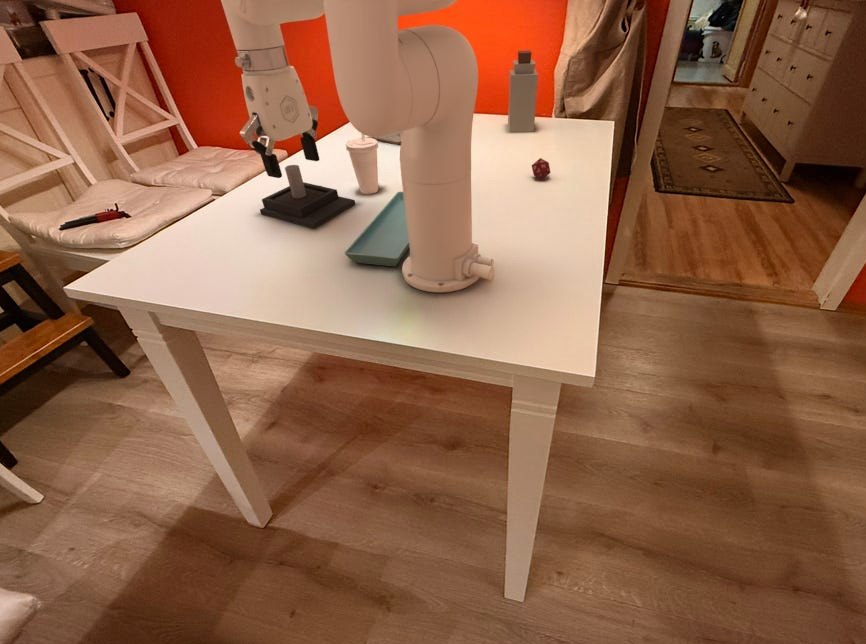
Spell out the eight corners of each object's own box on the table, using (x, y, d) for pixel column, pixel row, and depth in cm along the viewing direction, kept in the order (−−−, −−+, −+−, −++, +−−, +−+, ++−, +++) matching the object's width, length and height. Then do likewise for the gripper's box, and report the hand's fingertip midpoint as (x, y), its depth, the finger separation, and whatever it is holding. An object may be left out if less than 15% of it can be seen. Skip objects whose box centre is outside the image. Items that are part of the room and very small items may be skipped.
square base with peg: (326, 199, 92) (318, 164, 88) (302, 213, 88) (291, 176, 83) (301, 193, 95) (291, 158, 90) (275, 206, 91) (264, 170, 86)
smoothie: (378, 197, 95) (367, 124, 86) (349, 195, 96) (335, 123, 87) (388, 185, 100) (378, 114, 90) (360, 184, 101) (348, 113, 91)
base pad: (355, 204, 93) (353, 191, 91) (314, 229, 85) (310, 214, 83) (304, 192, 98) (301, 179, 96) (261, 214, 90) (256, 200, 88)
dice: (535, 183, 99) (536, 163, 96) (528, 175, 102) (530, 156, 99) (551, 181, 99) (553, 162, 97) (545, 173, 103) (546, 155, 100)
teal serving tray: (399, 200, 93) (397, 188, 92) (442, 204, 92) (441, 191, 90) (345, 266, 75) (342, 252, 73) (399, 272, 73) (397, 258, 71)
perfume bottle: (533, 131, 126) (539, 53, 114) (509, 132, 126) (512, 54, 114) (531, 124, 131) (536, 49, 119) (507, 125, 131) (510, 49, 119)
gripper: (237, 71, 68) (274, 186, 79) (318, 52, 79) (340, 156, 90) (204, 69, 71) (244, 181, 82) (287, 51, 82) (312, 152, 93)
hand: (294, 168), depth 86 cm, fingers open, 9 cm apart
